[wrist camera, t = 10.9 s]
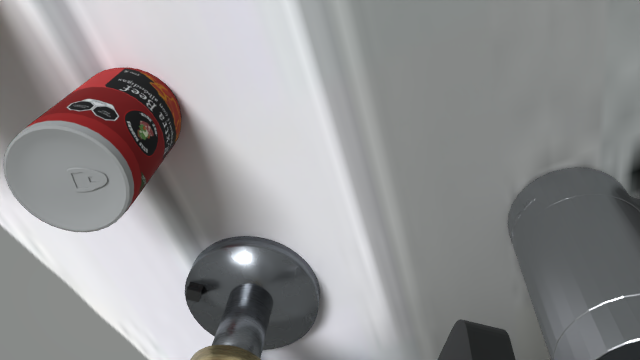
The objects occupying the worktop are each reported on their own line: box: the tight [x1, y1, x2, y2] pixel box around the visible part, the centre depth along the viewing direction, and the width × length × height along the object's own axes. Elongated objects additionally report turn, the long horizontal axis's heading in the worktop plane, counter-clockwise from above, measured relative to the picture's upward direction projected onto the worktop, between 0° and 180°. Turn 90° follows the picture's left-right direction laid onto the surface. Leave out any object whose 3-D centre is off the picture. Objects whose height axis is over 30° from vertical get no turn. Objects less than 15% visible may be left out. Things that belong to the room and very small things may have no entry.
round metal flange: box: [185, 236, 320, 358], centre depth 48 cm, size 12×12×10 cm
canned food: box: [3, 68, 181, 232], centre depth 39 cm, size 8×8×11 cm
